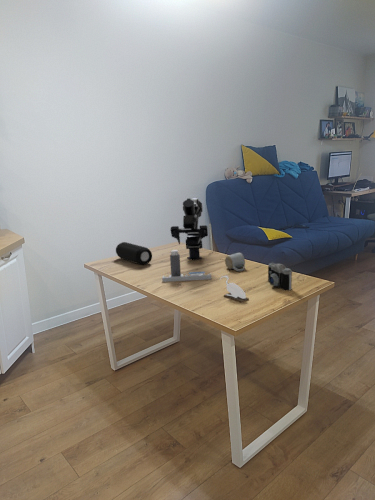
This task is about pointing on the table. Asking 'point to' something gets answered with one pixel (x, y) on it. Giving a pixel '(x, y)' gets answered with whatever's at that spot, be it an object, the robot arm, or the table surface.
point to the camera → (280, 276)
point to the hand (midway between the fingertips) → (188, 243)
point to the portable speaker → (134, 253)
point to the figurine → (235, 292)
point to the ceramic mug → (235, 261)
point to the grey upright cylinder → (175, 263)
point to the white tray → (187, 277)
